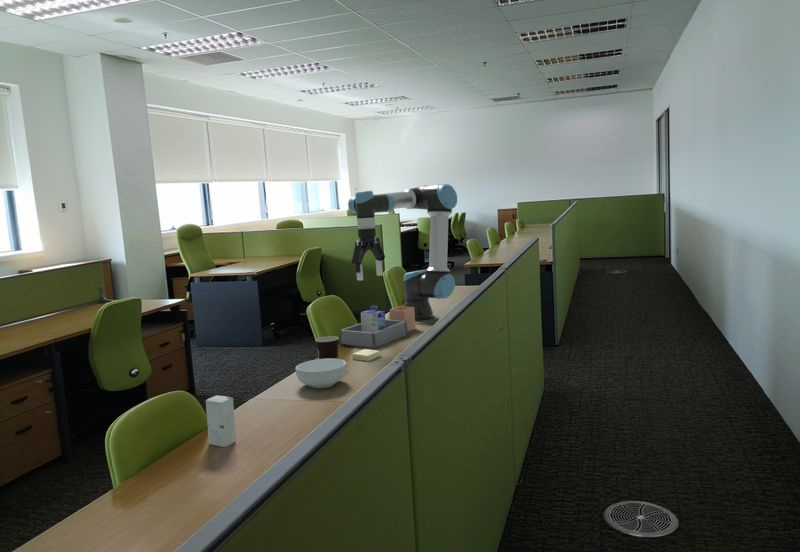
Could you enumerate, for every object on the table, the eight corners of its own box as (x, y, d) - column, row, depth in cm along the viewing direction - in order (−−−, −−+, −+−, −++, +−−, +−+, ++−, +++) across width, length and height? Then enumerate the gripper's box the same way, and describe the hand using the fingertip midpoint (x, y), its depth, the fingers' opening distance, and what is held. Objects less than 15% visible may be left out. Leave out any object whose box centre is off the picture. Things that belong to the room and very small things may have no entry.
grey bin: (374, 331, 282) (373, 318, 281) (407, 334, 272) (406, 321, 271) (340, 344, 263) (339, 330, 262) (374, 347, 252) (373, 333, 252)
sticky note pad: (364, 355, 244) (364, 349, 243) (380, 357, 239) (379, 350, 239) (352, 360, 238) (352, 353, 237) (368, 362, 233) (367, 355, 233)
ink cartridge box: (387, 339, 266) (385, 305, 265) (379, 342, 262) (377, 308, 260) (369, 337, 272) (367, 304, 271) (361, 339, 268) (359, 306, 266)
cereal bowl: (354, 377, 213) (353, 357, 212) (337, 393, 198) (335, 372, 197) (309, 376, 218) (307, 357, 217) (288, 392, 202) (286, 371, 201)
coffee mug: (336, 368, 226) (334, 341, 225) (314, 368, 228) (311, 342, 227) (345, 359, 237) (343, 334, 236) (324, 359, 239) (322, 334, 238)
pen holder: (401, 327, 287) (399, 306, 286) (415, 328, 282) (414, 307, 281) (391, 331, 281) (389, 309, 279) (405, 332, 276) (404, 310, 275)
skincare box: (208, 444, 163) (203, 400, 161) (220, 438, 166) (216, 394, 165) (225, 447, 160) (220, 402, 158) (238, 441, 163) (233, 397, 162)
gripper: (377, 225, 273) (380, 273, 276) (340, 230, 253) (344, 282, 256) (390, 225, 269) (394, 273, 272) (354, 230, 249) (358, 282, 251)
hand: (370, 278), depth 264 cm, fingers open, 13 cm apart
